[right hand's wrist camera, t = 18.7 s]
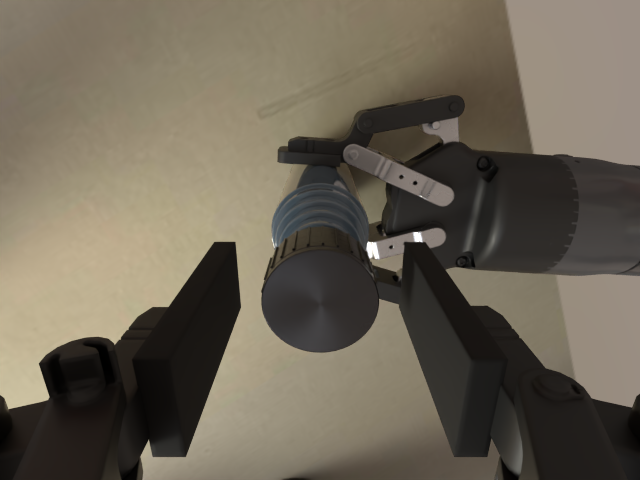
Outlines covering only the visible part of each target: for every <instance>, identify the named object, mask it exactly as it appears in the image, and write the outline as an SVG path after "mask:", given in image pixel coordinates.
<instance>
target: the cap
mask: <svg viewBox="0 0 640 480" xmlns="http://www.w3.org/2000/svg"><path fill="white" fill-rule="evenodd" d="M264 280H265V281H264V284H263V287H262V291H261V293H262V310H263V314H264V317H265V319H266V322H267V324H268V325H269V327H270V328H271V330H272V331H273V332H274V333H275V334H276V335H277V336H278V337H279V338H280V339H281V340H283V341H284V342H286V343H287V344H289V345H291V346H293V347H295V348H298V349H301V350H304V351H309V352H331V351H336V350H340V349H343V348H345V347H348V346H350V345H352V344H353V343H355V342H356V341H358V340H359V339H360V338H362V337H363V336H364V335H365V334H366V333H367V331H368V330H369V329H370V328H371V326H372V324H373V323H374V321H375V318H376V316H377V312H378V308H379V293H378V289H377V286H376V285H378V282H377V279H376V276H375V272H374V269H373V266H372V262H370V259H369V256H368V252H367V251H365V250H364V249H363V247H362V246H361V244H360V242H359V241H357V240H355V239H354V238H353V237H352V236H350V234H349V233H345V232H343V231H341V230H338V228H335V229H334V228H330V227H324V226H322V227H311V228H310V227H308V228H306V229H303V230H300V231H295V233H294V234H292V235H290V236H289V237H287V238H284V241H283V242H282V243H281V244H280V245H279V246H278V247H276V248H275V252H274V255H273V257H272V258H270V261H269V264H268V267H267V271H266V274H265V277H264Z"/></svg>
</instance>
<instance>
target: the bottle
mask: <svg viewBox="0 0 640 480" xmlns="http://www.w3.org/2000/svg"><path fill="white" fill-rule="evenodd" d="M322 226H324V227H330V228H334V229H335V228H338V230H341V231H343V232H345V233H349V234H350V236H352V237H353V238H354V239H355V240H357V241H359V242H360V244H361V246H362V247H363V249H364V250H365V251H366V248H367V244H368V237H369V223H368V218H367V215H366V212H365V209H364V207H363V204H362V201H361V199H360V196H359V193H358V191H357V188H356V185H355V183H354V180H353V178H352V175H351V172H350V170H349V167H348V165H347V163H340V167H331V166H316V165H302V164H293V166H292V168H291V171H290V174H289V176H288V179H287V182H286V184H285V187H284V189H283V192H282V195H281V197H280V200H279V203H278V205H277V208H276V211H275V213H274V216H273V220H272V241H273V246H274V249H275V248H276V247H278V246H279V245H280V244H281V243H282V242H283V241H284V238H287V237H289V236H290V235H292V234H294V233H295V231H300V230H303V229H306V228H308V227H310V228H311V227H322Z"/></svg>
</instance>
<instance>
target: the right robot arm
mask: <svg viewBox="0 0 640 480" xmlns="http://www.w3.org/2000/svg"><path fill="white" fill-rule="evenodd" d="M240 308H241V302H240V291H239V279H238V267H237V255H236V244H235V242H214V243H213V245H212V246H211V248H210V249H209V251H208V252H207V253H206V255H205V256H204V258H203V259H202V260H201V262H200V263H199V265H198V266H197V268H196V269H195V270H194V272H193V273H192V275H191V276H190V277H189V279H188V280H187V282H186V283H185V285H184V286H183V287H182V289H181V290H180V292H179V293H178V294H177V296H176V297H175V299H174V300H173V302H172V303H171V304H170V306H169V307H152V308H151V309H149V310H148V311H146V312H144V313H143V314H141V315H140V316H138V317H137V318H136V320H135V321H134V322H133V323H132V325H131V326H130V327H129V330H127V331H126V332H125V333H124V334H123V336H122V337H121V340H119V341H118V342H117V343H116V344H115V346H114V343H113V342H112V341H110V340H109V339H107V338H102V337H88V338H82V339H78V340H74V341H71V342H69V343H66V344H64V345H62V346H59V347H57V348H56V349H54V350H53V351H51V352H50V353H48V354H47V355H46V356H45V357H44V358H43V359H42V360H41V362H40V363H39V365H40V368H41V372H42V375H43V378H44V381H45V384H46V387H47V390H48V393H49V396H50V398H49V400H47V401H44V402H40V403H35V404H31V405H26V406H22V407H17V408H12V409H8V407H7V404H6V402H5V399H4V398H3V397H2V396H1V395H0V480H142V477H143V468H142V462H141V458H140V456H141V454H142V452H143V450H144V448H145V446H146V444H147V442H148V440H149V442H150V446H151V451H152V456H153V457H186V455H187V452H188V449H189V447H190V444H191V441H192V439H193V436H194V433H195V430H196V428H197V425H198V422H199V420H200V417H201V414H202V411H203V409H204V406H205V403H206V401H207V398H208V395H209V392H210V390H211V387H212V384H213V382H214V379H215V376H216V373H217V371H218V368H219V365H220V363H221V360H222V357H223V354H224V352H225V349H226V346H227V344H228V341H229V338H230V335H231V333H232V330H233V327H234V325H235V322H236V319H237V316H238V314H239V311H240ZM399 308H400V311H401V314H402V316H403V319H404V322H405V325H406V327H407V330H408V333H409V335H410V338H411V341H412V344H413V346H414V349H415V352H416V354H417V357H418V360H419V363H420V365H421V368H422V371H423V373H424V376H425V379H426V382H427V384H428V387H429V390H430V392H431V395H432V398H433V401H434V403H435V406H436V409H437V411H438V414H439V417H440V420H441V422H442V425H443V428H444V430H445V433H446V436H447V439H448V441H449V444H450V447H451V449H452V452H453V455H454V457H487V456H488V451H489V446H490V442H491V438H492V440H493V442H494V444H495V446H496V448H497V450H498V452H499V454H500V458H499V462H498V466H497V471H496V475H495V479H494V480H640V394H639V395H638V396H637V397H636V399H635V402H634V404H633V407H632V408H631V407H626V406H622V405H617V404H613V403H608V402H603V401H599V400H595V399H592V398H591V397H590V395H589V394H588V393H587V391H586V390H585V389H584V387H582V386H581V385H580V384H579V383H577V382H576V381H575V380H573V379H572V378H570V377H568V376H566V375H564V374H562V373H560V372H556V371H553V370H549V369H546V368H545V367H544V366H543V365H542V363H541V362H540V361H539V360H538V358H537V357H536V356H535V355H534V354H533V352H532V351H531V350H530V349H529V347H528V346H527V345H526V344H525V343H524V341H523V340H522V339H521V338H519V335H518V334H517V333H516V332H515V330H514V329H512V328H511V325H510V324H509V323H508V322H507V321H506V319H505V318H504V317H503V316H502V315H501V314H499V313H498V312H496V311H495V310H493V309H491V308H490V307H488V306H470V304H469V303H468V302H467V300H466V299H465V297H464V296H463V294H462V293H461V292H460V290H459V289H458V287H457V286H456V285H455V283H454V282H453V280H452V279H451V277H450V276H449V275H448V273H447V272H446V270H445V269H444V268H443V266H442V265H441V263H440V262H439V260H438V259H437V258H436V256H435V255H434V253H433V252H432V251H431V249H430V248H429V246H428V245H427V243H426V242H405V244H404V255H403V267H402V279H401V291H400V302H399Z"/></svg>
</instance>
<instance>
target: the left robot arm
mask: <svg viewBox="0 0 640 480" xmlns="http://www.w3.org/2000/svg"><path fill="white" fill-rule="evenodd" d="M464 107H465V104H464V101H463V99H462V98H461V97H459V96H456V95H439V96H434V97H429V98H423V99H418V100H413V101H408V102H403V103H397V104H392V105H387V106H382V107H376V108H371V109H366V110H361V111H359V112H358V113H357V114H356V115H355V117H354V121H353V123H352V126H351V128H350V130H349V132H348V134H347V135H346V136H345V137H343V138H341V139H328V138H313V137H299V136H298V137H295V138H292V139H290V140H289V142H288V146H282V147H280V148H279V149H278V162H279V163H287V164H302V165H316V166H331V167H340V163H348V164H349V165H352V166H354V167H356V168H358V169H361V170H363V171H365V172H368V173H370V174H372V175H374V176H376V177H378V178H379V179H381V180H383V181H385V182H386V196H387V203H386V205H385V208H384V210H383V213H382V220H381V221H379V222H375V223H371V224H369V237H368V244H367V248H366V251H367V252H368V256H369V258H373V259H383V258H387V257H391V256H394V255H398V254H402V253H403V254H404V244H405V242H426V243H427V245H428V246H429V248H430V249H431V251H432V252H433V253H434V255H435V256H436V258H437V259H438V260H439V262H440V263H441V265H442V266H443V268H444V269H445V270H446V269H448V268H453V267H461V268H466V269H473V270H488V271H505V272H520V273H539V274H554V275H570V276H583V275H596V274H616V275H633V276H640V166H635V165H623V164H617V163H612V162H608V161H603V160H598V159H591V158H580V157H573V156H568V155H564V154H558V155H553V156H551V155H537V154H523V153H508V152H494V151H479V150H472V149H470V148H469V147H468V146H466V145H465V144H463V143H461V142H459V128H458V117H459V116H460V115H461V114H462V112H463V111H464ZM416 125H419V128H420V130H421V131H422V132H424V133H426V134H429V135H436V136H437V137H438V139H439V143H437V144H435V145H434V146H432V147H430V148H429V149H427V150H425V151H424V152H422V153H420V154H419V155H417V156H415V157H414V158H412V159H410V160H409V161H407V162H403V161H401V160H399V159H397V158H394V157H392V156H390V155H388V154H386V153H383V152H381V151H378V150H375V149H373V148H371V147H369V146H368V144H369V142H370V140H371V138H372V135H373V133H378V132H384V131H389V130H394V129H400V128H405V127H410V126H416ZM390 245H391V246H390ZM372 266H373V265H372ZM373 269H374V272H375V276H376V279H377V282H378V285H376V286H377V289H378V293H379V299H382V300H386V301H389V302H393V303H396V304H399V302H400V291H401V279H402V268H401V269H399V270H398V271H397V272H393V271H390V270H387V269H383V268H380V267H377V266H373Z"/></svg>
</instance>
